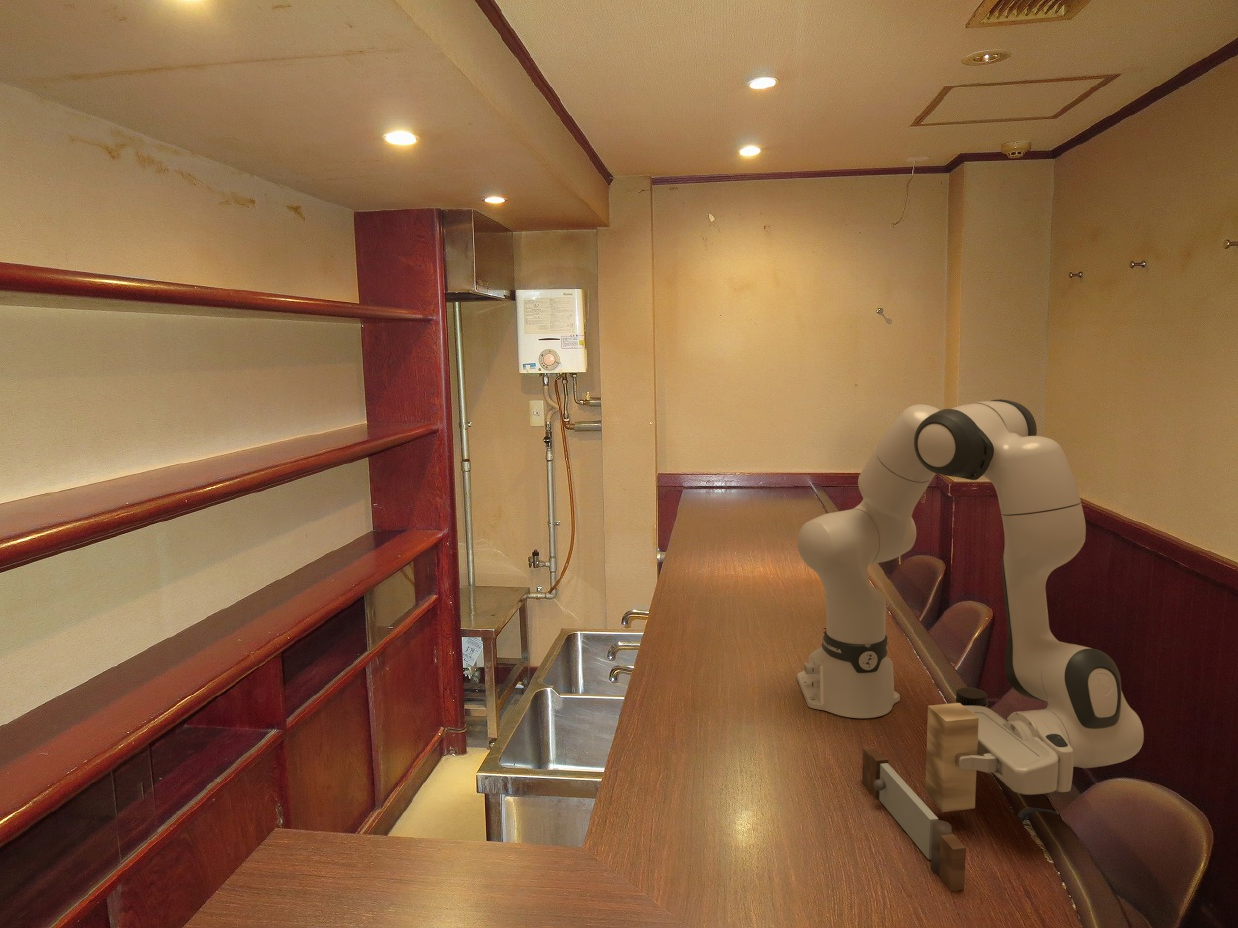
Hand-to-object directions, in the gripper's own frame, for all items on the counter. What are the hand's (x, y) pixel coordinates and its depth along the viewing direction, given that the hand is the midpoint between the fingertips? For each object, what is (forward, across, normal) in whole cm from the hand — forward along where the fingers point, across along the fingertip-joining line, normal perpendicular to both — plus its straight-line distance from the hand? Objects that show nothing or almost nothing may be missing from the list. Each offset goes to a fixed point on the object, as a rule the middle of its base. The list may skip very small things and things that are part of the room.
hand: (945, 750), depth 120 cm
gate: (+7, +1, +11) cm, 13 cm away
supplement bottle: (-14, -16, +12) cm, 24 cm away
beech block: (-1, 0, +8) cm, 8 cm away
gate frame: (+6, +1, +11) cm, 13 cm away
